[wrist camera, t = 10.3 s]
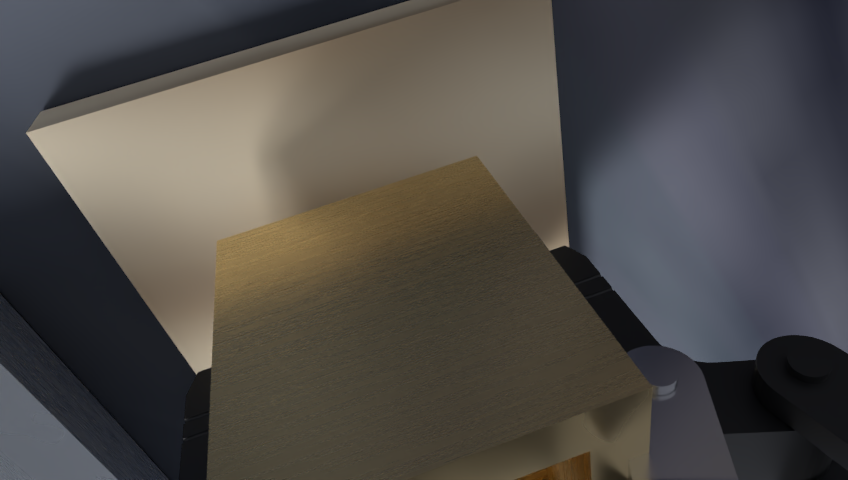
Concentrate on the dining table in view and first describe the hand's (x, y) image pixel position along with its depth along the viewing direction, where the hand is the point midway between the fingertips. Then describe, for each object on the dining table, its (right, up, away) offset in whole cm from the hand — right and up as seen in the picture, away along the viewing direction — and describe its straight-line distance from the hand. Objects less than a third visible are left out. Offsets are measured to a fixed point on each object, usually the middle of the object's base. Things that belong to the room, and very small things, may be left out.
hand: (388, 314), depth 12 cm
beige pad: (-1, +2, +2) cm, 3 cm away
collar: (0, 0, +1) cm, 1 cm away
